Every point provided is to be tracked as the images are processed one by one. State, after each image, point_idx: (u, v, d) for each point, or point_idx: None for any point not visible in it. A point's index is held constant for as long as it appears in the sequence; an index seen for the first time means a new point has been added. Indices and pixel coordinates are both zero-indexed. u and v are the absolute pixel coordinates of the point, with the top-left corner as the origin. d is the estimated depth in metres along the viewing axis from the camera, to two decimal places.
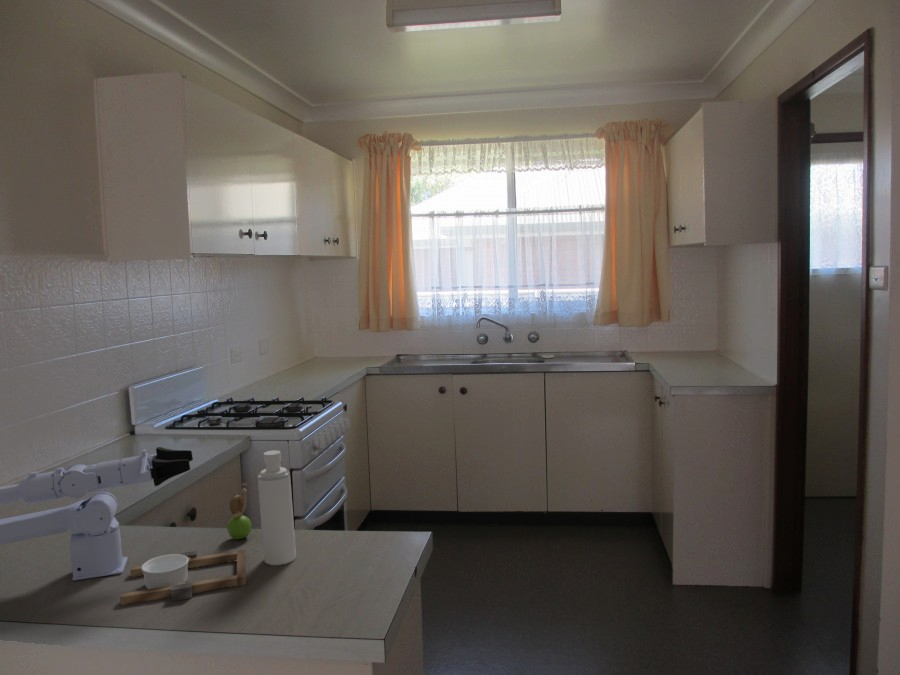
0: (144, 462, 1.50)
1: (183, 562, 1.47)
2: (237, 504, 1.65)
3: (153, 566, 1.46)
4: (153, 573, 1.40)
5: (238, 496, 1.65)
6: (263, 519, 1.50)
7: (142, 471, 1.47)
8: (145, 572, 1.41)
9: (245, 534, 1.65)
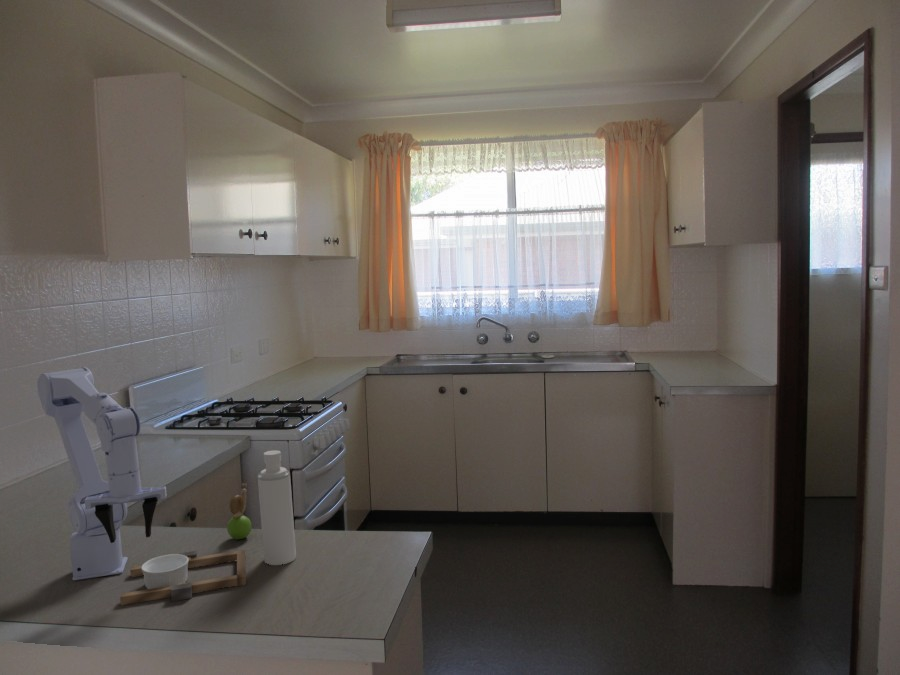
0: (106, 501, 1.38)
1: (183, 562, 1.47)
2: (237, 504, 1.65)
3: (153, 566, 1.46)
4: (153, 573, 1.40)
5: (238, 496, 1.65)
6: (263, 519, 1.50)
7: (88, 501, 1.38)
8: (145, 572, 1.41)
9: (245, 534, 1.65)
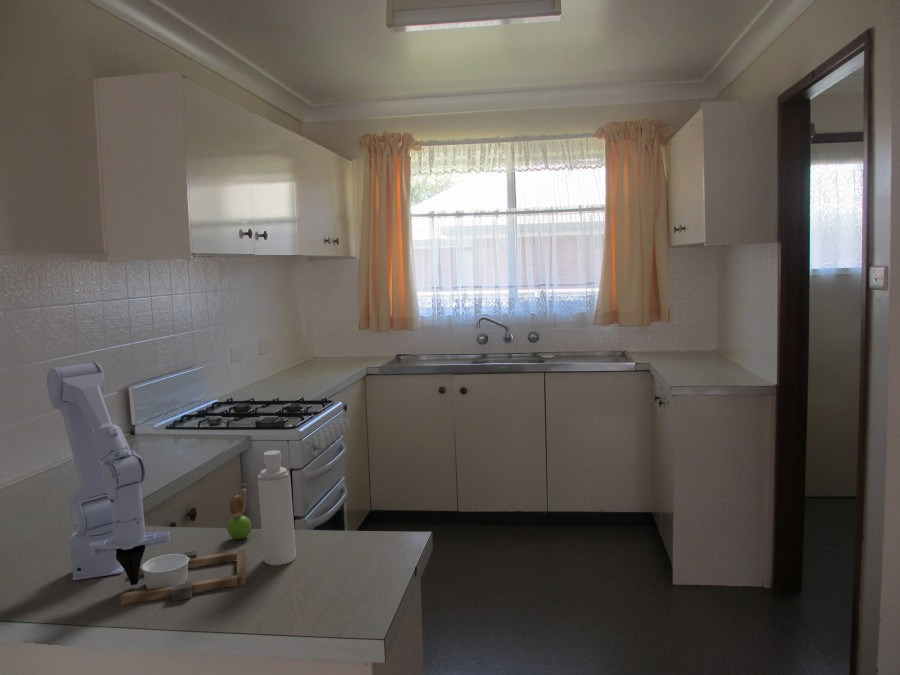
0: (110, 547, 1.39)
1: (183, 562, 1.47)
2: (237, 504, 1.65)
3: (153, 565, 1.46)
4: (153, 573, 1.40)
5: (238, 496, 1.65)
6: (263, 519, 1.50)
7: (93, 547, 1.40)
8: (145, 572, 1.41)
9: (245, 534, 1.65)
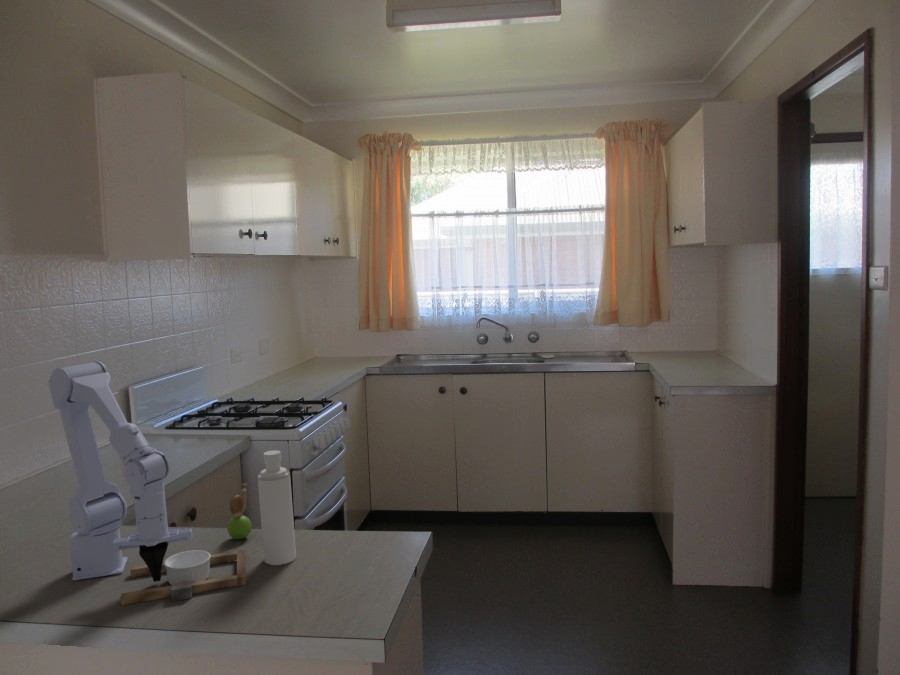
0: (134, 544, 1.41)
1: (205, 558, 1.48)
2: (237, 504, 1.65)
3: (175, 561, 1.48)
4: (176, 569, 1.41)
5: (238, 496, 1.65)
6: (263, 519, 1.50)
7: (116, 544, 1.41)
8: (168, 568, 1.42)
9: (245, 534, 1.65)
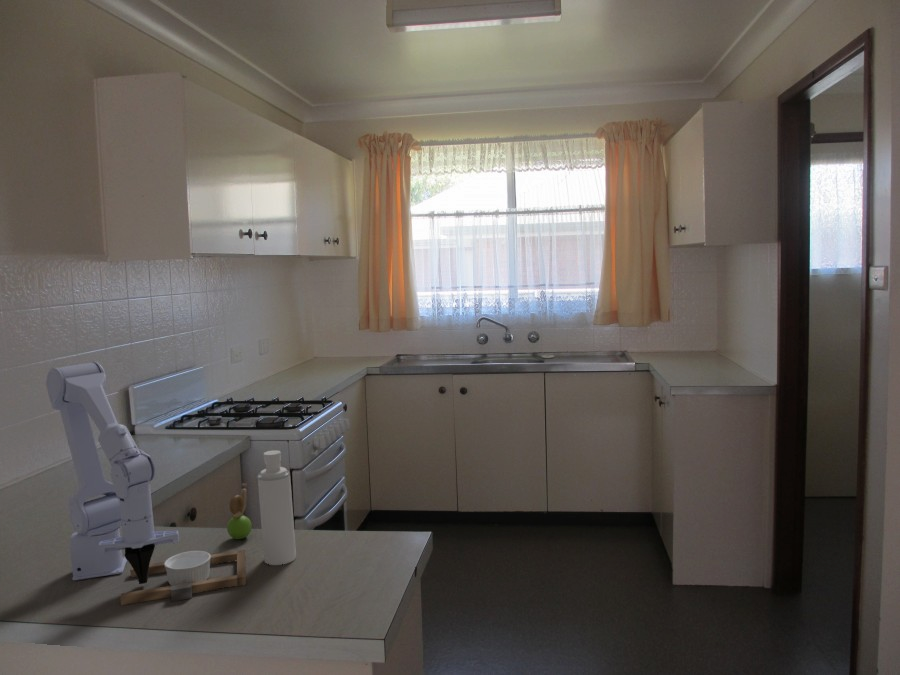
0: (120, 546, 1.40)
1: (205, 559, 1.48)
2: (237, 504, 1.65)
3: (176, 562, 1.48)
4: (176, 569, 1.41)
5: (238, 496, 1.65)
6: (263, 519, 1.50)
7: (102, 546, 1.40)
8: (168, 568, 1.42)
9: (245, 534, 1.65)
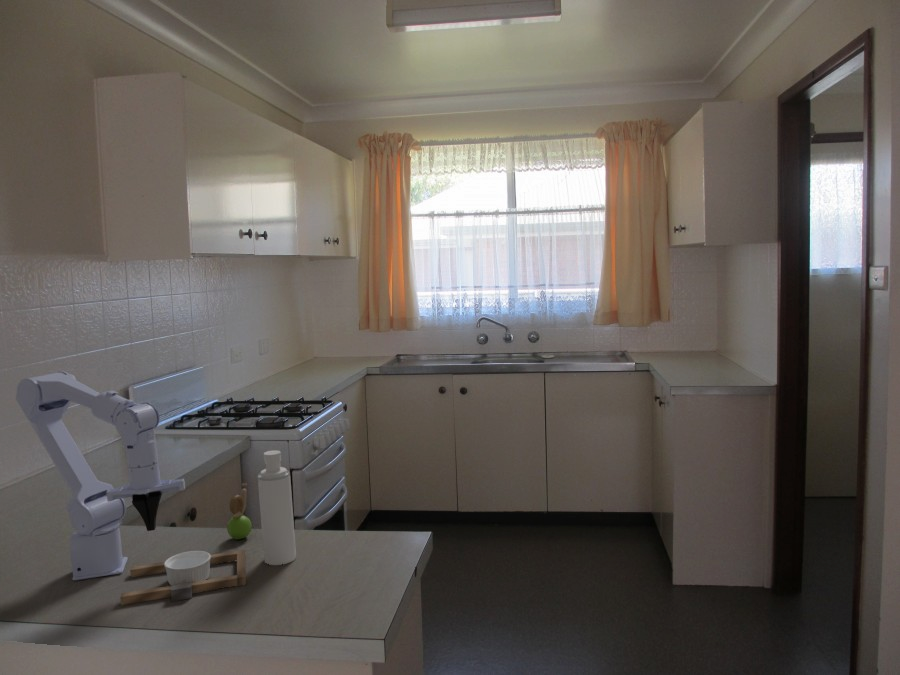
0: (127, 493, 1.43)
1: (205, 559, 1.48)
2: (237, 504, 1.65)
3: (176, 562, 1.48)
4: (176, 569, 1.41)
5: (238, 496, 1.65)
6: (263, 519, 1.50)
7: (110, 493, 1.43)
8: (168, 568, 1.42)
9: (245, 534, 1.65)
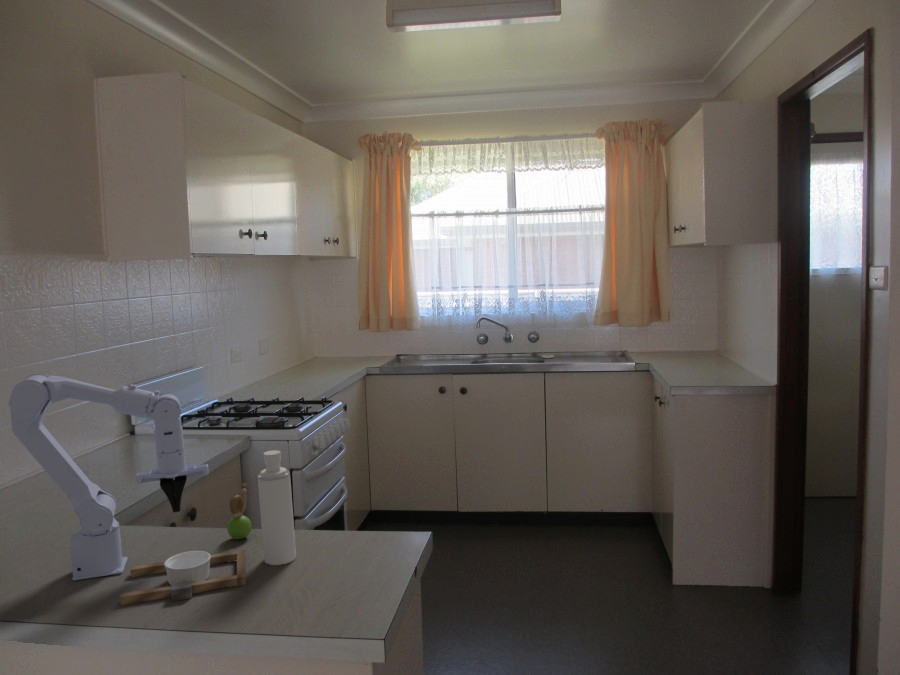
0: (155, 476, 1.53)
1: (205, 559, 1.48)
2: (237, 504, 1.65)
3: (176, 562, 1.48)
4: (176, 569, 1.41)
5: (238, 496, 1.65)
6: (263, 519, 1.50)
7: (139, 477, 1.53)
8: (168, 568, 1.42)
9: (245, 534, 1.65)
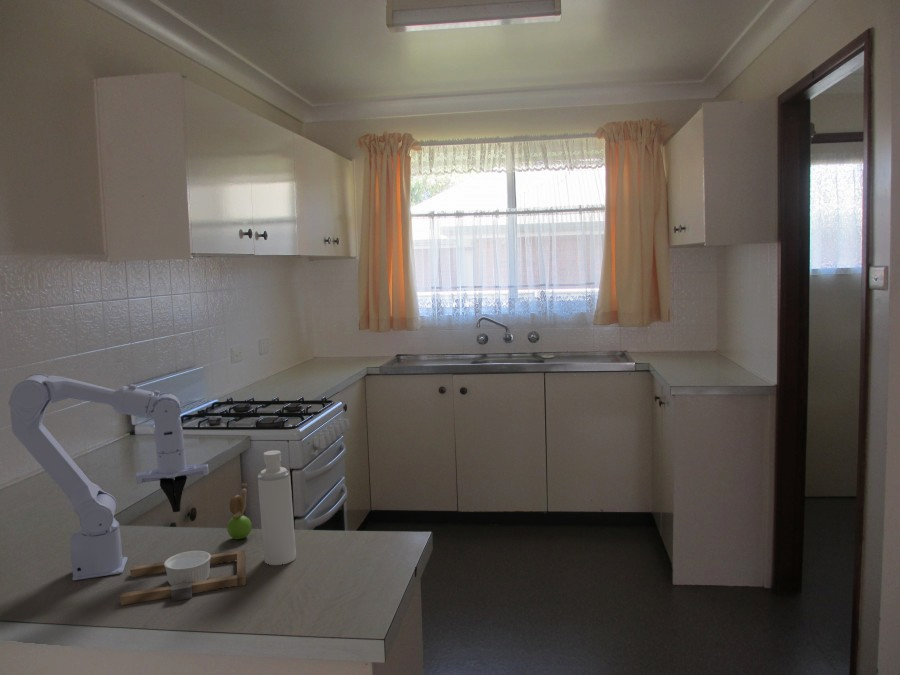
0: (155, 476, 1.53)
1: (205, 559, 1.48)
2: (237, 504, 1.65)
3: (176, 562, 1.48)
4: (176, 569, 1.41)
5: (238, 496, 1.65)
6: (263, 519, 1.50)
7: (139, 477, 1.53)
8: (168, 568, 1.42)
9: (245, 534, 1.65)
